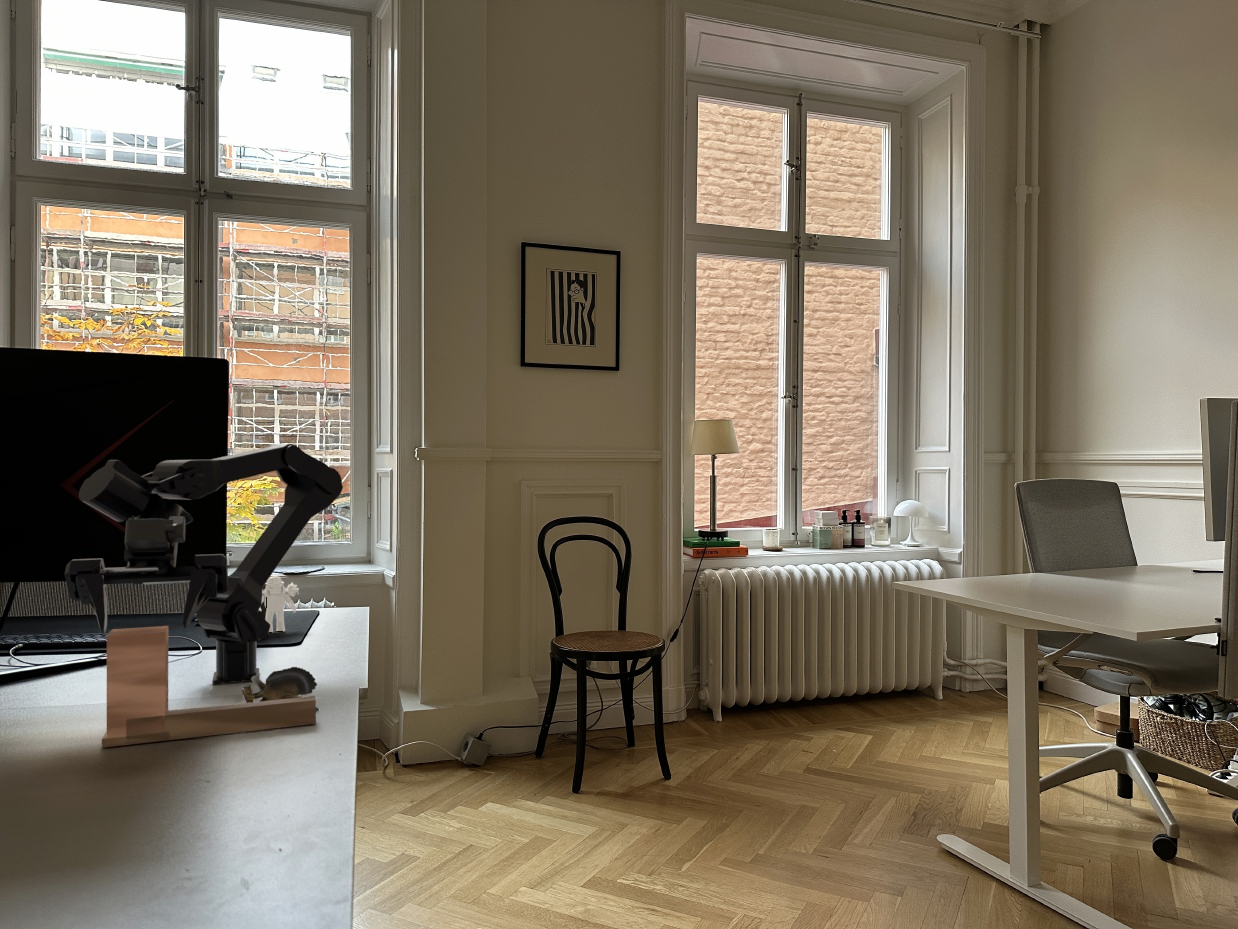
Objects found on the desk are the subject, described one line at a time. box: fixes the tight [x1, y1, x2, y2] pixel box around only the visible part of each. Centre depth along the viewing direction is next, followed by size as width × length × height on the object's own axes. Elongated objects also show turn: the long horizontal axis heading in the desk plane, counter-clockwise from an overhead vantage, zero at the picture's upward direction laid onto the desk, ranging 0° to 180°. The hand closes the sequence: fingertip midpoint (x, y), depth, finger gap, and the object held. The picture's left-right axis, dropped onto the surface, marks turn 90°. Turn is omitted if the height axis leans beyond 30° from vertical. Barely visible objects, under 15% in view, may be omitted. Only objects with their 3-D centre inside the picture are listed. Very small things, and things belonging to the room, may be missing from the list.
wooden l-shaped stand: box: [101, 625, 317, 748], centre depth 107 cm, size 10×24×13 cm, turn 113°
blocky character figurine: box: [258, 576, 300, 633], centre depth 168 cm, size 9×4×12 cm, turn 116°
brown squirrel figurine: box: [241, 666, 320, 713], centre depth 112 cm, size 8×7×9 cm
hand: (144, 628), depth 107 cm, fingers open, 9 cm apart
